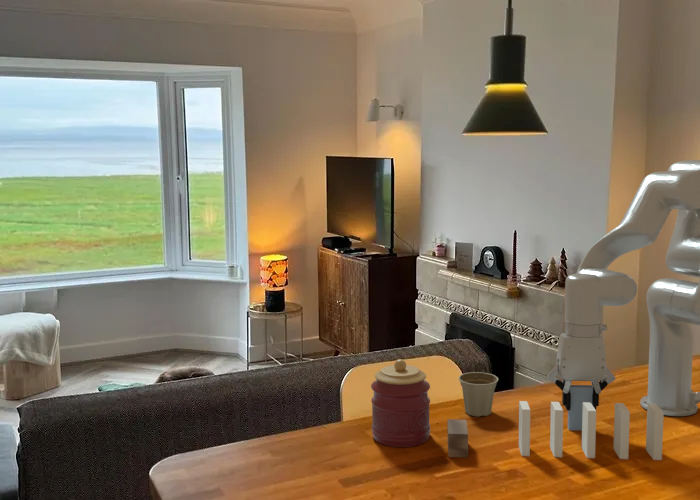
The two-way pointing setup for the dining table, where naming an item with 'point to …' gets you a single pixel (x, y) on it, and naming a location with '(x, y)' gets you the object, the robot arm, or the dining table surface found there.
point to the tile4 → (556, 429)
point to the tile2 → (621, 430)
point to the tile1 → (654, 431)
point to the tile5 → (524, 428)
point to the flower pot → (478, 392)
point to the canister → (400, 406)
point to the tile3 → (588, 429)
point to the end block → (457, 438)
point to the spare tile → (578, 404)
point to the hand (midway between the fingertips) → (580, 407)
